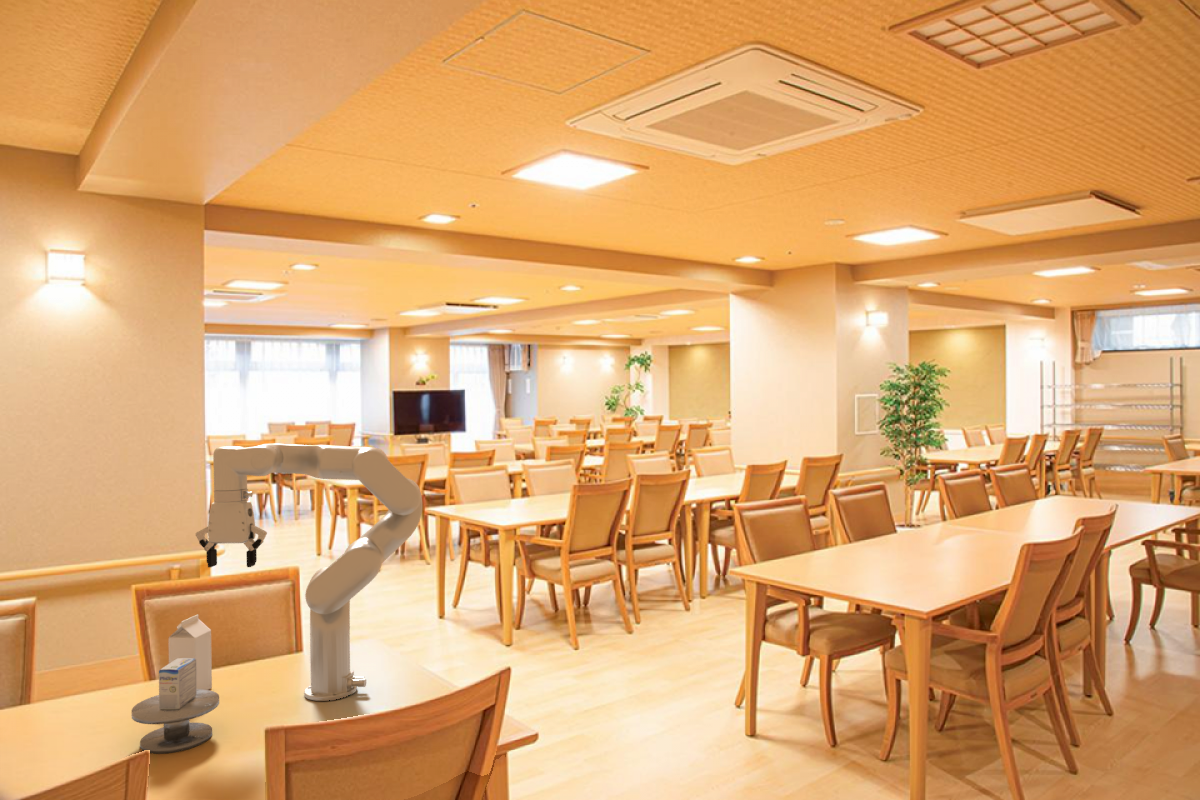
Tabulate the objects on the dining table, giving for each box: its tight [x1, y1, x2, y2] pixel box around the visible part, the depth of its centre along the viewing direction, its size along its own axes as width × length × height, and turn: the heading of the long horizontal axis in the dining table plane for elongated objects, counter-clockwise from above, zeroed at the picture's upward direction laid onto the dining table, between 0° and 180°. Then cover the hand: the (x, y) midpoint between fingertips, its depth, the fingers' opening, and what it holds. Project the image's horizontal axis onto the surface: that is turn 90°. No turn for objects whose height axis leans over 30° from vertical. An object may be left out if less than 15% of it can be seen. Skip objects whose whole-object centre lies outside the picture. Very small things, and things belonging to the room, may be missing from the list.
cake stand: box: [131, 689, 220, 755], centre depth 178 cm, size 17×17×8 cm
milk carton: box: [168, 614, 213, 690], centre depth 207 cm, size 7×7×19 cm
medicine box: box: [158, 658, 196, 710], centre depth 178 cm, size 8×4×9 cm, turn 1°
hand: (231, 566), depth 200 cm, fingers open, 9 cm apart
